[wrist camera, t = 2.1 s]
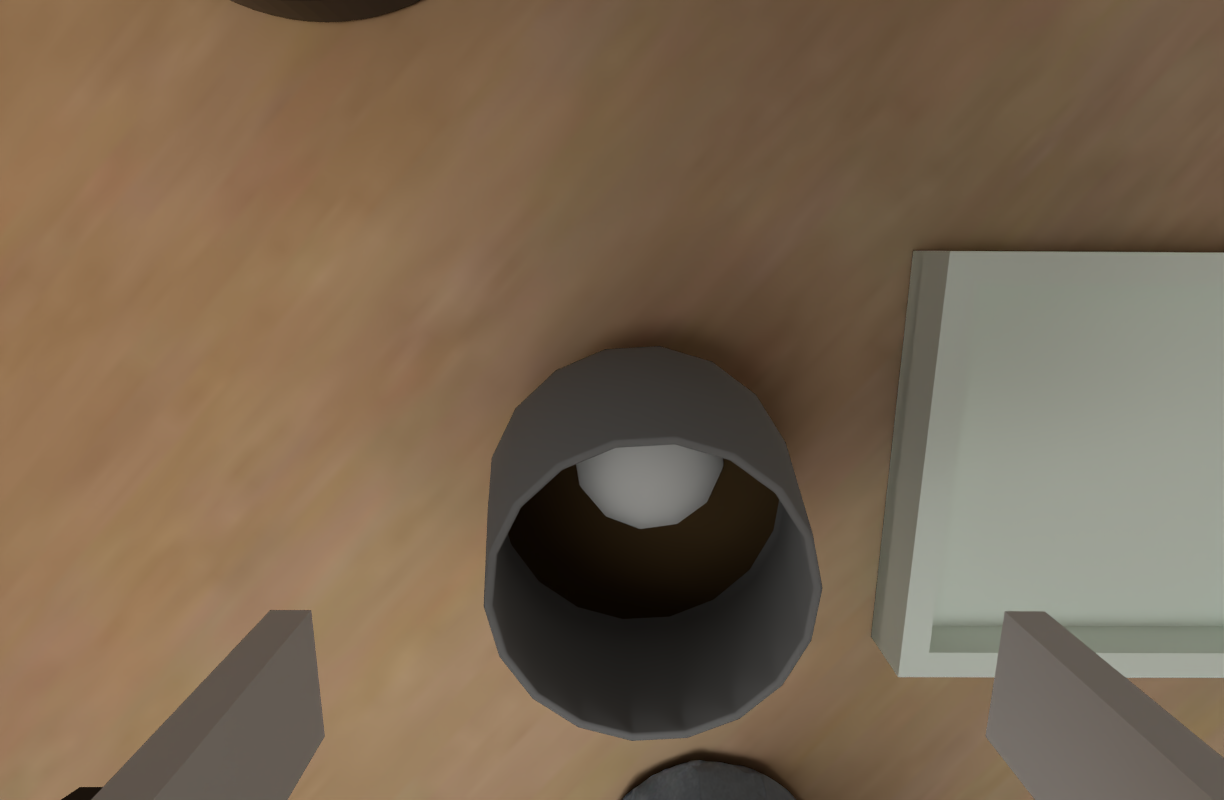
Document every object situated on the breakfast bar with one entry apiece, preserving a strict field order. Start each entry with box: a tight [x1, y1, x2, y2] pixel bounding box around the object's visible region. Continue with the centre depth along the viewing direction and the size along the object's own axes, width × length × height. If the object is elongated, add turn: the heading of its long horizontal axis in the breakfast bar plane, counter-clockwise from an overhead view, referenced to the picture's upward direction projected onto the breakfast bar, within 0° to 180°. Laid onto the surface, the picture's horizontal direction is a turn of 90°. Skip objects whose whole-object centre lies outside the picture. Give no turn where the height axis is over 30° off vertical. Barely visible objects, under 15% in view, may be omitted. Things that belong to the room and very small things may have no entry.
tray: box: [871, 251, 1224, 678], centre depth 23 cm, size 15×15×2 cm
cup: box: [484, 346, 822, 741], centre depth 19 cm, size 10×9×10 cm
